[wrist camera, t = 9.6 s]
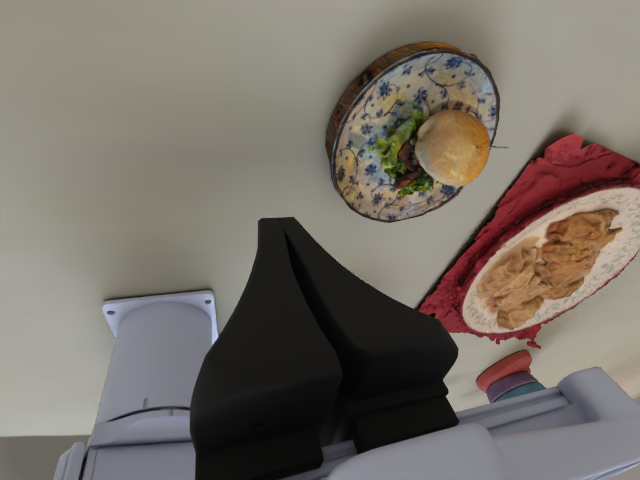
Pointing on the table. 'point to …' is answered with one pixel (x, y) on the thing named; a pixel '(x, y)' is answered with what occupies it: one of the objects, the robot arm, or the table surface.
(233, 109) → the table surface
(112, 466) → the robot arm
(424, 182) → the burger
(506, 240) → the plate with food
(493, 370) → the stacking bear
